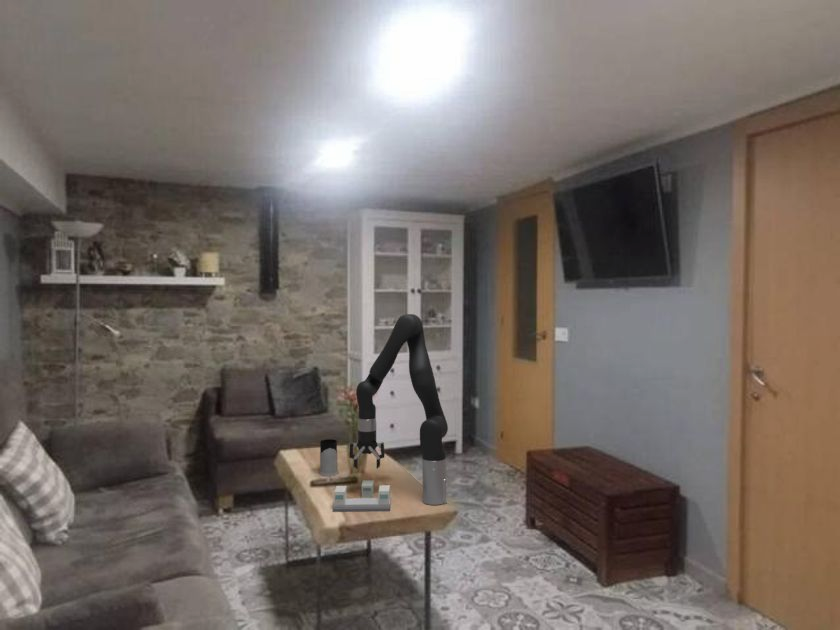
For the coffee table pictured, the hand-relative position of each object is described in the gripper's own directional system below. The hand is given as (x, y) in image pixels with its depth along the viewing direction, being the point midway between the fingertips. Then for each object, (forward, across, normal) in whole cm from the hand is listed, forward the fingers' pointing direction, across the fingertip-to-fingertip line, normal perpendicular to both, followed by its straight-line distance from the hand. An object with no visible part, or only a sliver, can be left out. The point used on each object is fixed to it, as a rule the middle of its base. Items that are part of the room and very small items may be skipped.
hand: (367, 468), depth 244 cm
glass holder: (+12, +21, -33) cm, 40 cm away
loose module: (+11, 0, 0) cm, 11 cm away
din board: (+11, +1, +13) cm, 17 cm away
